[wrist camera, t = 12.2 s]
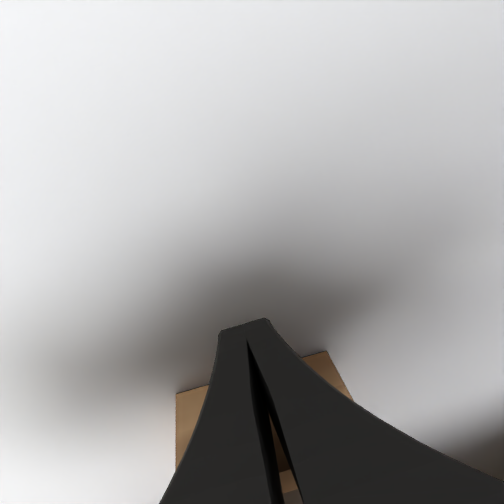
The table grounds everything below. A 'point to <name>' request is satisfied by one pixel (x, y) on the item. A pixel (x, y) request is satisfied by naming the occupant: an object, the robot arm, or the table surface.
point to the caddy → (322, 364)
